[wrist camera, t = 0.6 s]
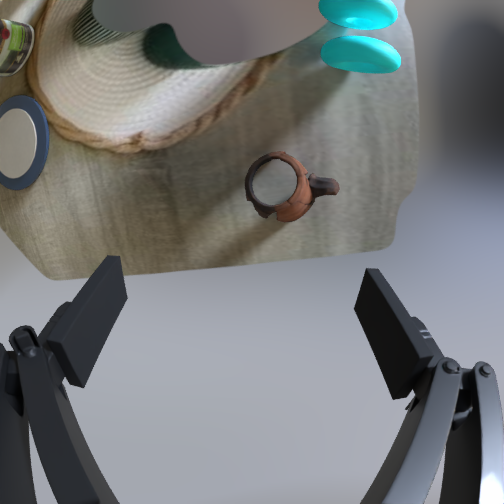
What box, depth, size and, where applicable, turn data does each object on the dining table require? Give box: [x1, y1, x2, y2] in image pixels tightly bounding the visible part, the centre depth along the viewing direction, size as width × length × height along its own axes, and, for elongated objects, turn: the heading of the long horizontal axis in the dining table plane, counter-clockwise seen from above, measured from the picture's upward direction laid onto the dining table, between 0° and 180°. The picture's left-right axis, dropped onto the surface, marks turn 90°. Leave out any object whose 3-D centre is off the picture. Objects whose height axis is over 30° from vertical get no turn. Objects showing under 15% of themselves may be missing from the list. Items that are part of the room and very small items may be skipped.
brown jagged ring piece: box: [245, 151, 340, 222], centre depth 37 cm, size 12×10×8 cm
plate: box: [0, 95, 49, 190], centre depth 33 cm, size 17×17×1 cm
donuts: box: [319, 0, 401, 73], centre depth 25 cm, size 10×10×10 cm
